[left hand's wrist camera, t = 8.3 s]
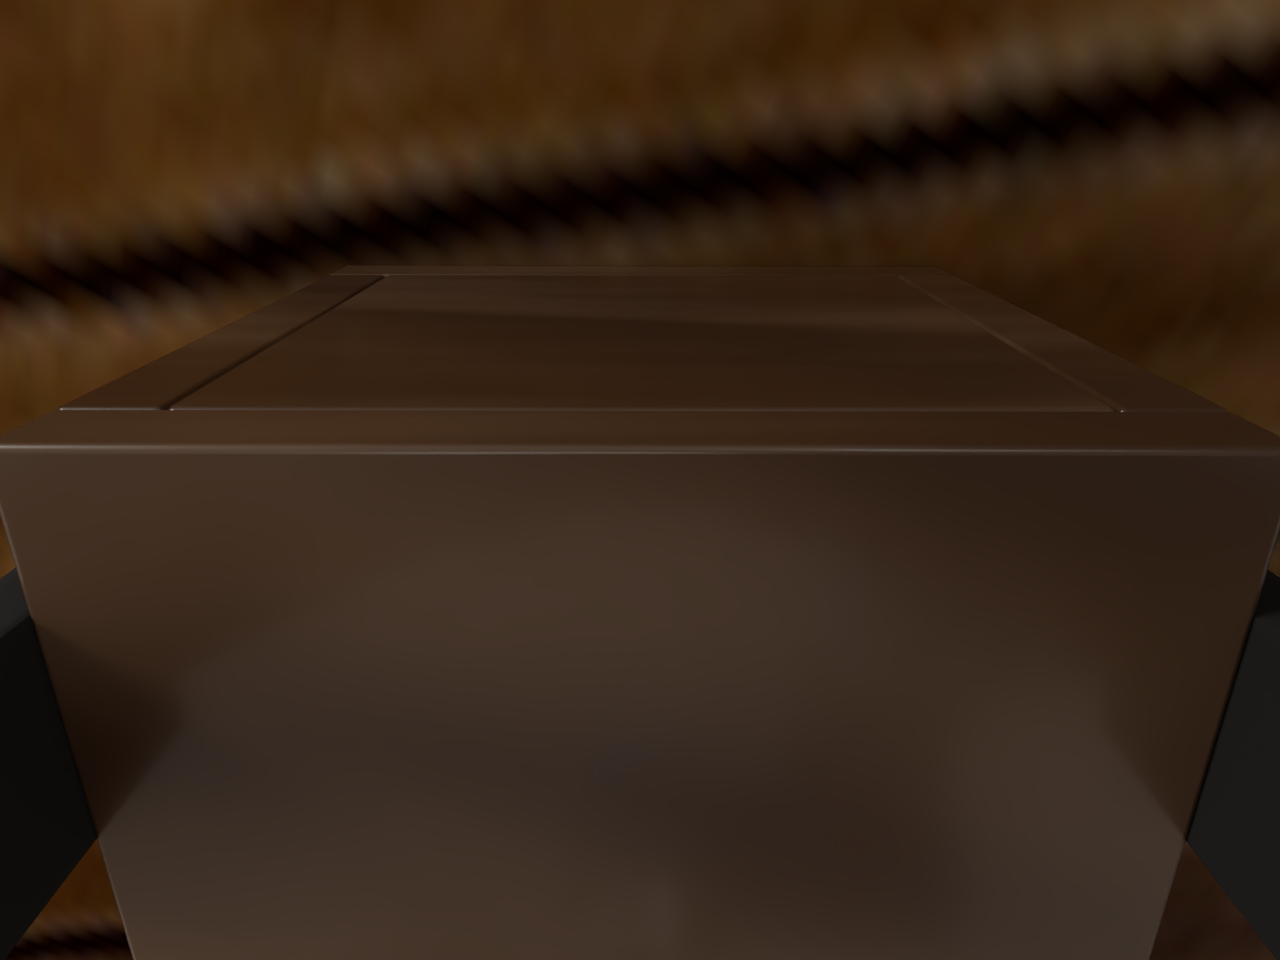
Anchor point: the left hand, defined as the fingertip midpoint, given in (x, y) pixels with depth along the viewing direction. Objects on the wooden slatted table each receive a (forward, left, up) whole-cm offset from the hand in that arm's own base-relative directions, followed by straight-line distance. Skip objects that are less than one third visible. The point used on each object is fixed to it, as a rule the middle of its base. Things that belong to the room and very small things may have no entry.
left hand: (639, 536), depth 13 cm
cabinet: (+1, +7, -6) cm, 9 cm away
